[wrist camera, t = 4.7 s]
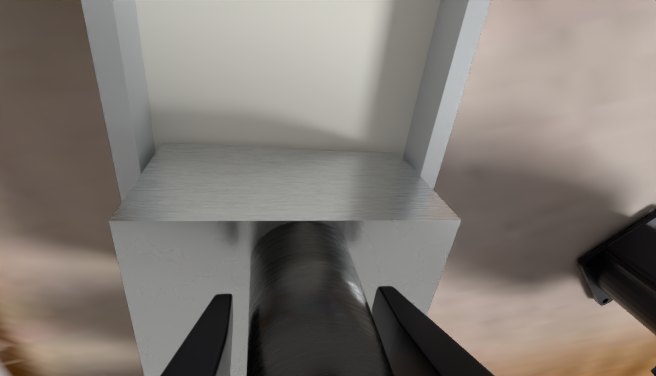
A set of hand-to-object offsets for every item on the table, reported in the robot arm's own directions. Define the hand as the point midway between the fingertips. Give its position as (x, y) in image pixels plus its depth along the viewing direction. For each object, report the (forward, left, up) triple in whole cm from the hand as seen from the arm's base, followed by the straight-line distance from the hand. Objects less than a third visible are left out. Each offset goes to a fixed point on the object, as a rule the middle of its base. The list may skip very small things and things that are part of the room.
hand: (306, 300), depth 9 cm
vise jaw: (-2, +2, -7) cm, 7 cm away
